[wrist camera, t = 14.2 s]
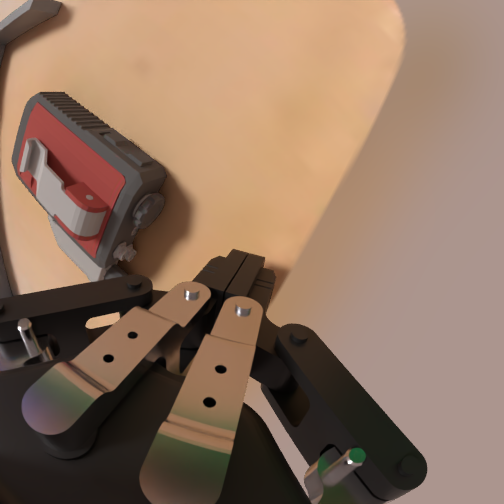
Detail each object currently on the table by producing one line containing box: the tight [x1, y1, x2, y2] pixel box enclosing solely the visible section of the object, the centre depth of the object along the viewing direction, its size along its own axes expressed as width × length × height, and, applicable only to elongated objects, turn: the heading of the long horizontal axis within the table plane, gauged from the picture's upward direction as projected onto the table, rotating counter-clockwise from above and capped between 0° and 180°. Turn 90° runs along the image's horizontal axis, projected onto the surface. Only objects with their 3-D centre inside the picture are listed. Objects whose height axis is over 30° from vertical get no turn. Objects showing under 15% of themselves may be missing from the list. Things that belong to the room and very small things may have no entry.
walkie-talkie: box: [12, 92, 167, 282], centre depth 14 cm, size 9×4×20 cm
